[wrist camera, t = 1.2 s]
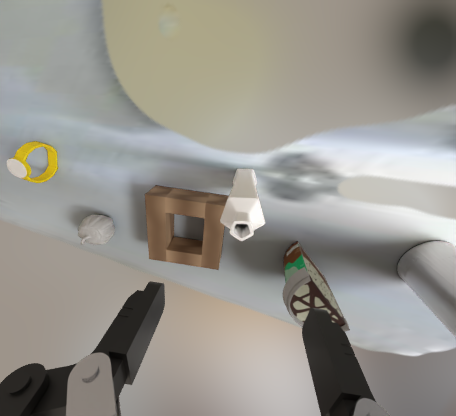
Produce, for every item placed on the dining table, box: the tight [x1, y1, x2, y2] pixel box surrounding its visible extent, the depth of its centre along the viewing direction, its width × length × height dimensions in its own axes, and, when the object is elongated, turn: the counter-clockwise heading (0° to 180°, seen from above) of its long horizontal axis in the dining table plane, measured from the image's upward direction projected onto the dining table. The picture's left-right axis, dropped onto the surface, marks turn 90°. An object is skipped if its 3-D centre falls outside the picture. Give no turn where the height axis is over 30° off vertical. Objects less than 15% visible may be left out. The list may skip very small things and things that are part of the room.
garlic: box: [78, 215, 115, 245], centre depth 35 cm, size 6×5×5 cm
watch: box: [7, 141, 58, 183], centre depth 30 cm, size 6×3×6 cm, turn 162°
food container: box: [283, 241, 350, 332], centre depth 33 cm, size 12×6×10 cm, turn 39°
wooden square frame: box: [145, 185, 229, 270], centre depth 34 cm, size 12×12×4 cm
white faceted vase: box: [220, 169, 265, 241], centre depth 25 cm, size 5×4×15 cm
